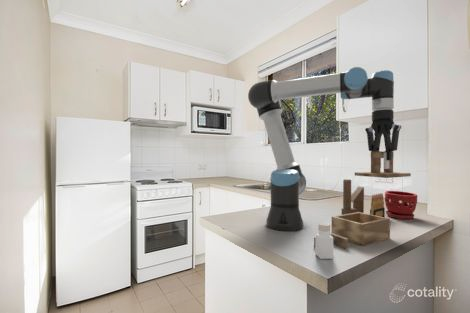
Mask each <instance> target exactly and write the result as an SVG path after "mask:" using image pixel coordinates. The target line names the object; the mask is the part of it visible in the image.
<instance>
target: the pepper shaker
mask: <svg viewBox="0 0 470 313" xmlns="http://www.w3.org/2000/svg"><path fill="white" fill-rule="evenodd" d="M317 226H318V229H317V230H318V233H316V234H315V235H314V237H315V247H314V248H315V252H314V254H315V255H316V256H317V257H318V258H319V259H320V260H331V259H333V258H334V244H333V237H332V236H331V235H330V234H331V224H330V223H328V222H319V223H318V225H317Z"/></svg>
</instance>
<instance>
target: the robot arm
mask: <svg viewBox="0 0 470 313" xmlns="http://www.w3.org/2000/svg"><path fill="white" fill-rule="evenodd" d="M394 84H395V81H394V73H393V71H391V70H380V71H376V72H374V73H372V75H371V77H370V78H368V74H367V71H366V70H365V69H364V68H362V67H359V66H355V67H352V68H350V69H348V70H347V71H345V72H344V71H343V72H338V73H331V74H324V75H318V76H316V75H315V76H309V77H303V78H295V79H288V80H283V81H282V80H281V81H277V80H275V79H271V80H264V81H259V82H256V83H254V84H253V85H251V87H250V89H249V91H248V94H247V98H248V102H249V104H250V105H251V106H252V107H253V108H255V109H256V111H257V114H258V117H259V119H260V120H262V121H263V123H264V127H265V130H266V133H267V136H268V140H269V143H270V147H271V151H272V153H273V157H274V161H275V163H276V168H275V170H272V171H271V173H270V178H269V180H270V208H269V210H268V214H267V217H266V221H265V222H266V224H265V225H266V226H267V227H268V228H270V229H272V230H277V231H282V232H283V231H284V232H294V231H300V230H302V229H304V220H303V218H302V214H301V211H300V195H301V194H302V193H303V192H304V191H305V189H306V187H307V179H306V177H305V175H304V174H303V172H302V169H301V166H300V164H299V163H297V162H296V161H295V158H294V154H293V150H292V149H291V148H292V147H291V145H290V141H289V138H288V134H287V133H286V129H285V126H284V125H285V124H284V121H283V120H282V116H281V115H282V113H283V108H282V100H283V101H284V100H290V99H299V98H307V97H315V96H316V97H317V96H324V95H325V96H326V95H332V94H340V98H341V99H342V100H351V99H352V100H355V99H362V98H371V111H372V112H371V121H372V122H371V125H370V126H369V127H366V128H365V132H366V136H367V146H368V151H369V152H371V151H380V146H381V139H382V136H383V140H384V141H383V142H384V147H385V149H384V151H383V152H384V158H383V170H384V169H389V160H391V159H392V152H396V151H397V150H398V144H399V137H400V131H401V129H402V125H399V124H395V122H394V115H395V114H394V113H395V112H394V110H393V109H394V104H395V103H394V101H395V100H394V93H395V92H394V87H395V85H394ZM391 130H392V132H391ZM380 169H382V163H381V164H380Z"/></svg>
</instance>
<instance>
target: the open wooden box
mask: <svg viewBox="0 0 470 313" xmlns="http://www.w3.org/2000/svg"><path fill="white" fill-rule="evenodd" d="M332 233H333V234H336V235H339V236H342V237H345V238H348V243H349V242H350V243H352V244H354V245H357V246H361V247H364V246H368V245H371V244H374V243H378V242H382V241H385V240H389V239H390V238H391V219H390V218H387V217H385V218H384V217H379V216H375V215H370V213H365V212H364V213H361V212H356V213H350V214H344V215H342V214H339V215H334V216H331V234H332Z"/></svg>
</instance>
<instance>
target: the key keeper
mask: <svg viewBox="0 0 470 313" xmlns="http://www.w3.org/2000/svg"><path fill="white" fill-rule="evenodd" d="M330 235H331V236H332V237H333V245H334V246H338V247H340V248H343V249H346V250H347V249H349V241H348V238H345V237H342V236H339V235H336V234H333V233H332V232H331V233H330ZM313 247H314V248H315V236H314V237H313Z"/></svg>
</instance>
